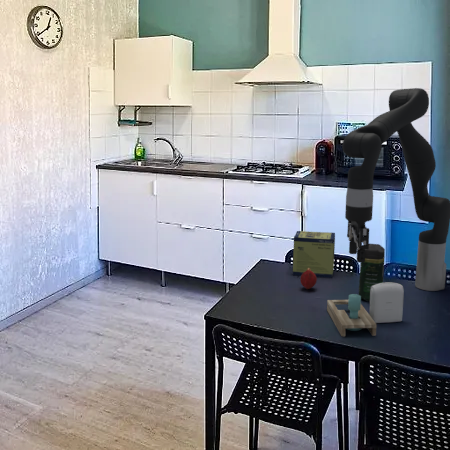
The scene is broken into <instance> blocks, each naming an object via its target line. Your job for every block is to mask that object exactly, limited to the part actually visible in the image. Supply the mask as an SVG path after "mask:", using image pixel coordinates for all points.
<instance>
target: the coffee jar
mask: <svg viewBox="0 0 450 450" xmlns="http://www.w3.org/2000/svg"><path fill="white" fill-rule="evenodd" d="M385 251H386V250H385V247H383V246H382V245H381V244H379V243H378V244H377V243H369V249H366V250H365V262H359V263H360V265H359V281H358V295H360V296H361V300H363V301H366V302H370V289H371V286H373V285H376V284H379V283H384V275H385V274H384V272H385V257H386V256H385Z"/></svg>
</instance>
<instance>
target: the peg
mask: <svg viewBox="0 0 450 450" xmlns="http://www.w3.org/2000/svg"><path fill="white" fill-rule="evenodd" d="M347 300H348V304H347V309H348V310H349V318H350V319H358V311H359V310H360V306H361V304H362V302H361V301H362V299H361V296H360V295H359V294H357V293H350V294H348V299H347ZM362 329H363V328H346V330H348V331H351V332H359V331H362Z"/></svg>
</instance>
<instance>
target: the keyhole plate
mask: <svg viewBox="0 0 450 450" xmlns="http://www.w3.org/2000/svg"><path fill="white" fill-rule="evenodd" d="M326 303H327V305H326V311H327V313H328V315H329V316H330V318H331V320H332V322H333V324H334V325H335V327H336V328H337V332H339V334H340V336H341V337H346V330H347V329H346V328H362V329H367V330H368V332H369V333H370V334H371V336H373V337H374V336H375V337H376V336H377V324H378V323H375V322H374V320H373V319H372V318H371V316H370V315H369V312H368V311H367V310H366V309H365V307H364V306H363V304H362V303H361V306H360V310H359V311H358V319H350V316H349V315H348V314H347V312H346V311H345V309H338V307H337V306H336V305H348V299H327V301H326Z"/></svg>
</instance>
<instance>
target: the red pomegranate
mask: <svg viewBox="0 0 450 450" xmlns="http://www.w3.org/2000/svg"><path fill="white" fill-rule="evenodd" d="M299 279H300V284H301V285H302V287H304V289H306V290H310V289H312V288H314V286H315V285H316V284H317V281H318V277H316V275H315V274H314V273H313V272H312V271H311V270H310V268H307V271H305V272H304V273H303V274H302V275H301V276H300V278H299Z"/></svg>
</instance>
